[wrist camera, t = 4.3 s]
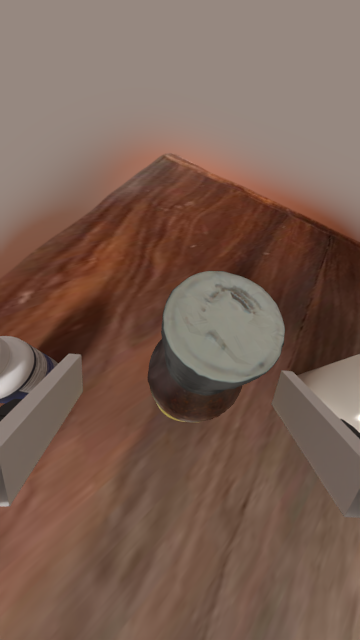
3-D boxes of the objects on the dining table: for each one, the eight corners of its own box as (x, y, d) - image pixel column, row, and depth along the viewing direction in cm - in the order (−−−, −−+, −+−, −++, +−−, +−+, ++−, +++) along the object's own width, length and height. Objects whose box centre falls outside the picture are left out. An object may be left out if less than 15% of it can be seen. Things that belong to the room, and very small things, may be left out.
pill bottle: (0, 399, 22) (-101, 384, 14) (28, 352, 25) (-42, 314, 16) (48, 412, 22) (-22, 405, 14) (71, 363, 25) (25, 331, 16)
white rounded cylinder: (294, 363, 27) (350, 339, 19) (345, 395, 26) (428, 382, 18) (275, 412, 25) (332, 406, 16) (331, 450, 23) (423, 464, 15)
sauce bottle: (198, 360, 26) (284, 233, 9) (214, 413, 24) (381, 385, 6) (147, 372, 25) (122, 251, 7) (157, 429, 23) (159, 454, 5)
